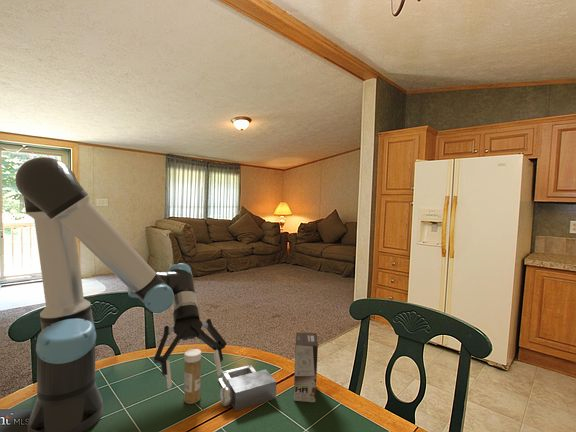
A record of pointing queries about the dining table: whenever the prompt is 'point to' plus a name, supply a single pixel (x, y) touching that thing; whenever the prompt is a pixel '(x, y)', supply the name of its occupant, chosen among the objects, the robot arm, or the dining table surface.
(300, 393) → the coffee box
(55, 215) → the robot arm
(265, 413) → the dining table surface
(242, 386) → the grey open drawer box
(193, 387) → the sprinkles bottle
